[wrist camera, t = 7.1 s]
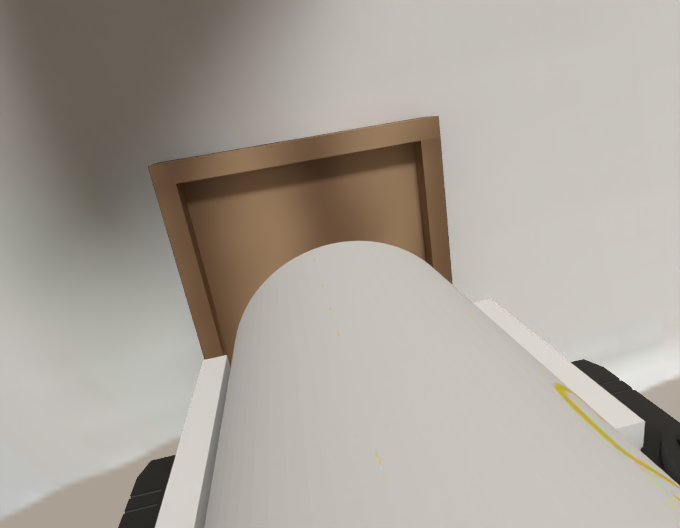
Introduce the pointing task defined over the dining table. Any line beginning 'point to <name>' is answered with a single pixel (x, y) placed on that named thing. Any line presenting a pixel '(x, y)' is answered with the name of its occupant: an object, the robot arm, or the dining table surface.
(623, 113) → the dining table surface
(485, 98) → the dining table surface
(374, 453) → the grey upright rounded piece
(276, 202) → the tray
